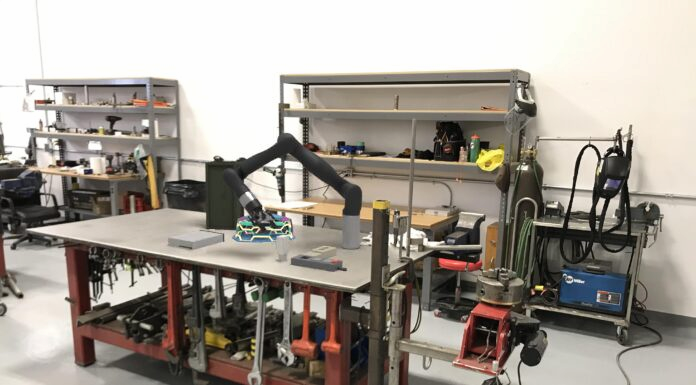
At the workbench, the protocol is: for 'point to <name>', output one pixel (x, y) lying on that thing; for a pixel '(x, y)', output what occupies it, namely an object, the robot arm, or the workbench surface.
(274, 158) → the robot arm
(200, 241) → the disc drive
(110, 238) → the workbench surface
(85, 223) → the workbench surface
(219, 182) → the green ammo box
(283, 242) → the block
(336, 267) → the power strip
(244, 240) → the stadium
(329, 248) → the electrical outlet
